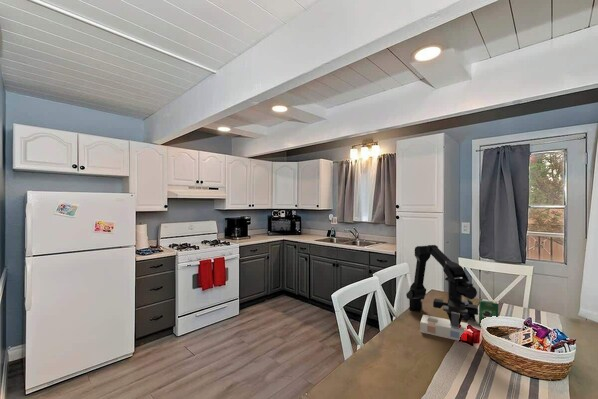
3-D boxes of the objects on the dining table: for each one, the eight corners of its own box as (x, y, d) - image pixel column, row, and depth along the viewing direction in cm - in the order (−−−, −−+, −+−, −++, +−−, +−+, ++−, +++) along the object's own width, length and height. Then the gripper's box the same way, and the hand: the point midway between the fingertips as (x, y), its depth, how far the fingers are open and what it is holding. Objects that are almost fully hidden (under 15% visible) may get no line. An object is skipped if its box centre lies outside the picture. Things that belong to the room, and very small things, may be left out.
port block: (420, 332, 138) (420, 321, 138) (423, 324, 147) (423, 314, 147) (467, 342, 128) (467, 331, 128) (467, 333, 137) (467, 322, 137)
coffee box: (496, 326, 143) (496, 301, 143) (498, 329, 140) (498, 303, 140) (478, 324, 146) (478, 299, 145) (480, 327, 143) (480, 301, 143)
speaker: (475, 316, 154) (472, 298, 154) (475, 321, 149) (473, 302, 149) (459, 315, 158) (457, 297, 158) (459, 320, 153) (457, 301, 153)
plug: (451, 329, 134) (451, 313, 134) (452, 327, 137) (451, 310, 137) (458, 331, 133) (458, 314, 133) (459, 328, 135) (458, 312, 135)
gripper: (431, 293, 133) (432, 326, 133) (478, 300, 123) (478, 335, 123) (434, 286, 142) (434, 317, 143) (477, 293, 133) (478, 325, 133)
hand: (455, 323), depth 135 cm, fingers closed on plug, 3 cm apart
